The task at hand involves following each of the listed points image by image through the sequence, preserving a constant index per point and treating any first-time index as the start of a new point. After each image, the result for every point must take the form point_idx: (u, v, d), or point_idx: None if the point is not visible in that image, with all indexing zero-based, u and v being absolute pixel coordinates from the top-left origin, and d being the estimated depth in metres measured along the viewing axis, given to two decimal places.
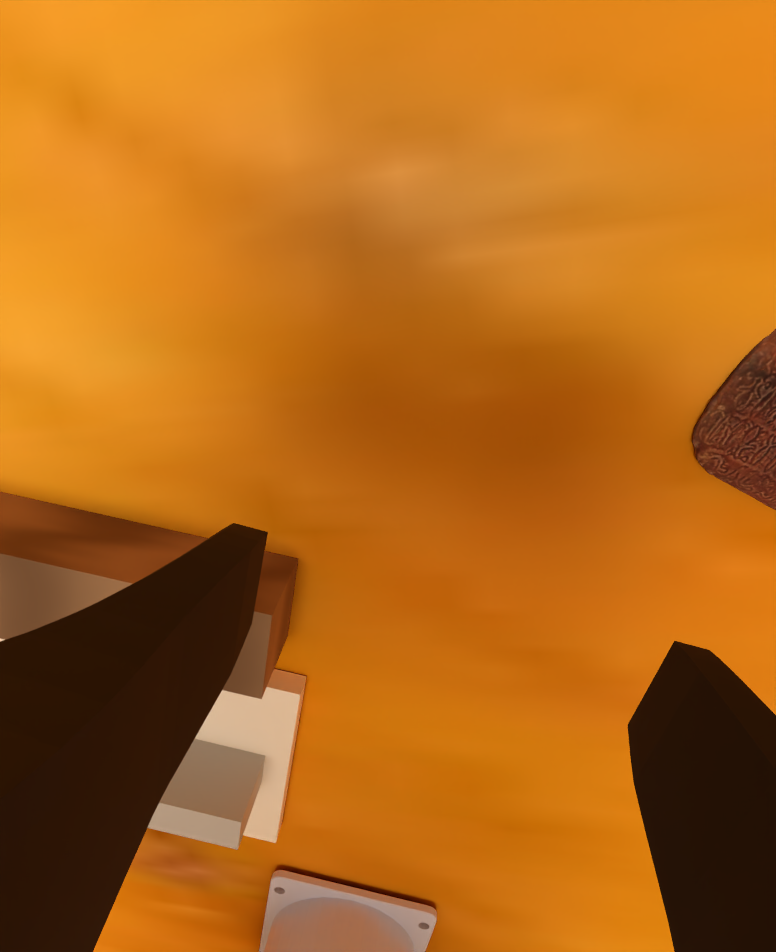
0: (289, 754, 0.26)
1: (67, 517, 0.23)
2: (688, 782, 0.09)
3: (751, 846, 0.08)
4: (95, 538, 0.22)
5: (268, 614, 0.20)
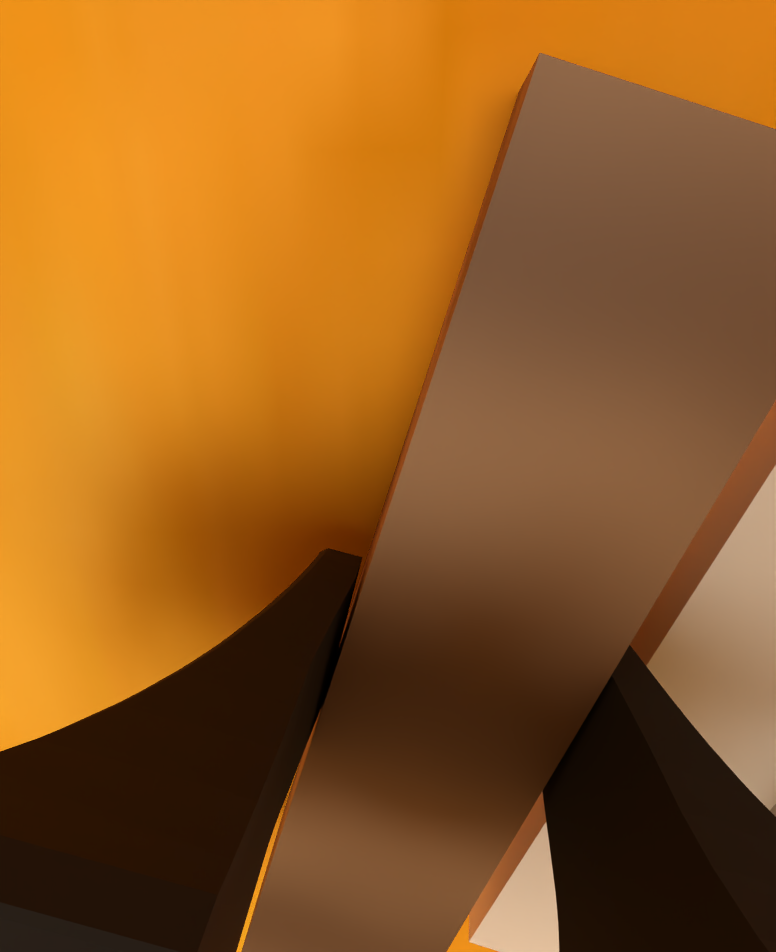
0: None
1: (358, 585, 0.12)
2: (579, 753, 0.09)
3: (620, 810, 0.08)
4: (373, 543, 0.11)
5: (536, 66, 0.06)
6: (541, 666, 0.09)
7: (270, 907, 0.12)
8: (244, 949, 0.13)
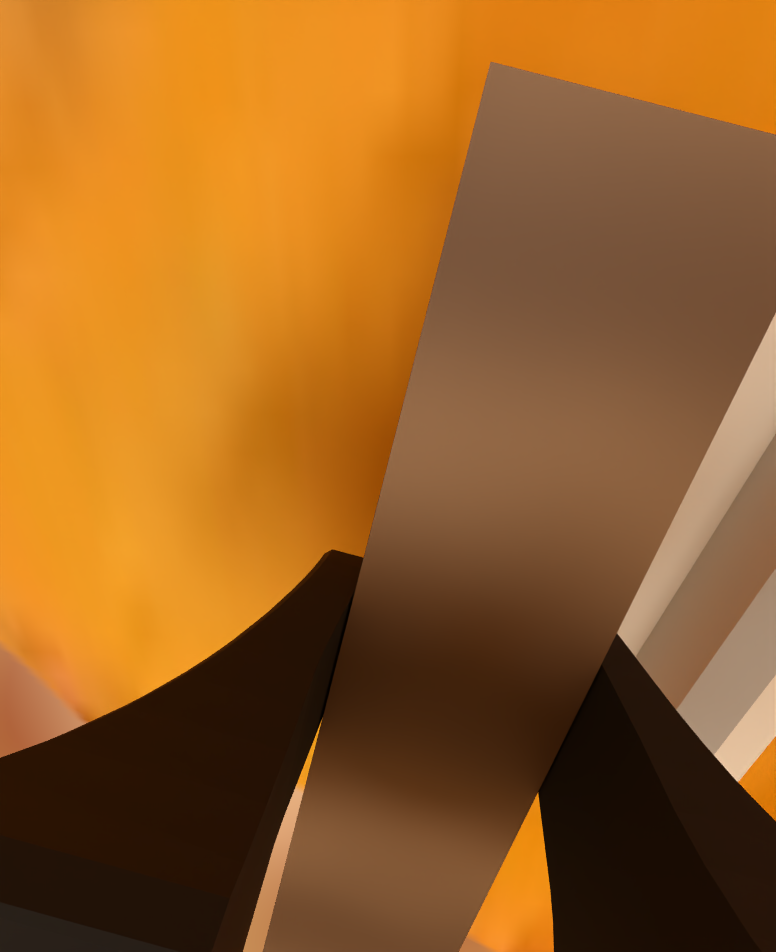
0: None
1: None
2: (574, 751, 0.09)
3: (614, 809, 0.08)
4: None
5: None
6: (536, 653, 0.09)
7: (288, 906, 0.12)
8: (265, 949, 0.13)
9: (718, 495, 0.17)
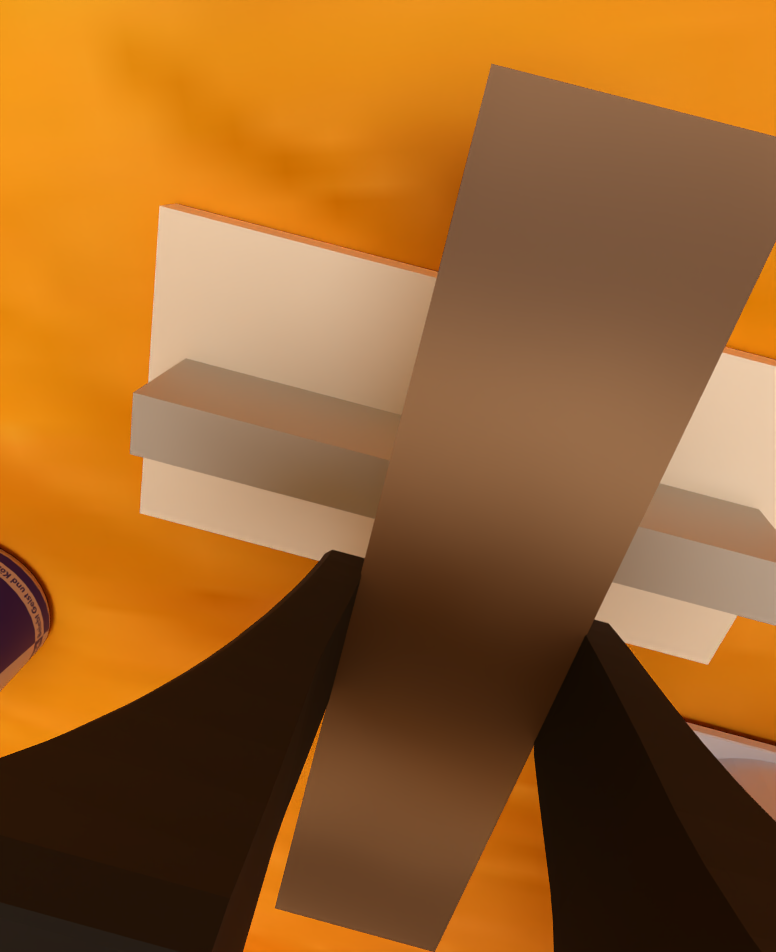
0: None
1: None
2: (573, 751, 0.09)
3: (614, 809, 0.08)
4: None
5: (489, 75, 0.07)
6: (532, 610, 0.10)
7: (301, 854, 0.13)
8: (279, 895, 0.14)
9: None
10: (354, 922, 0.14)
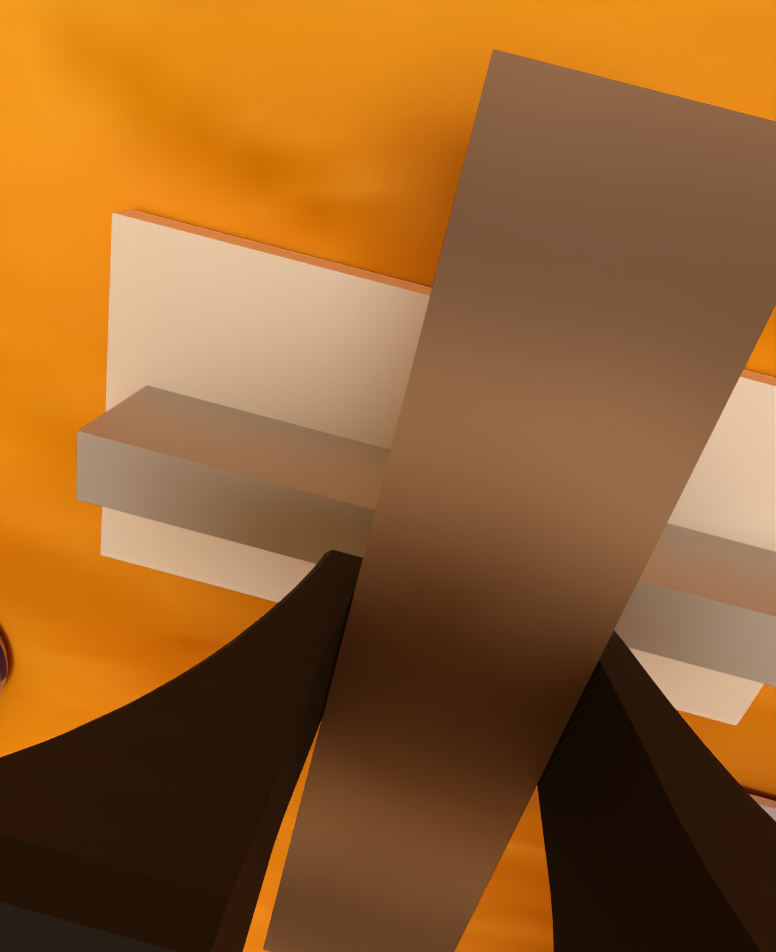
0: None
1: None
2: (574, 751, 0.09)
3: (614, 809, 0.08)
4: None
5: (490, 62, 0.06)
6: (537, 642, 0.09)
7: (291, 894, 0.12)
8: (268, 936, 0.13)
9: None
10: None
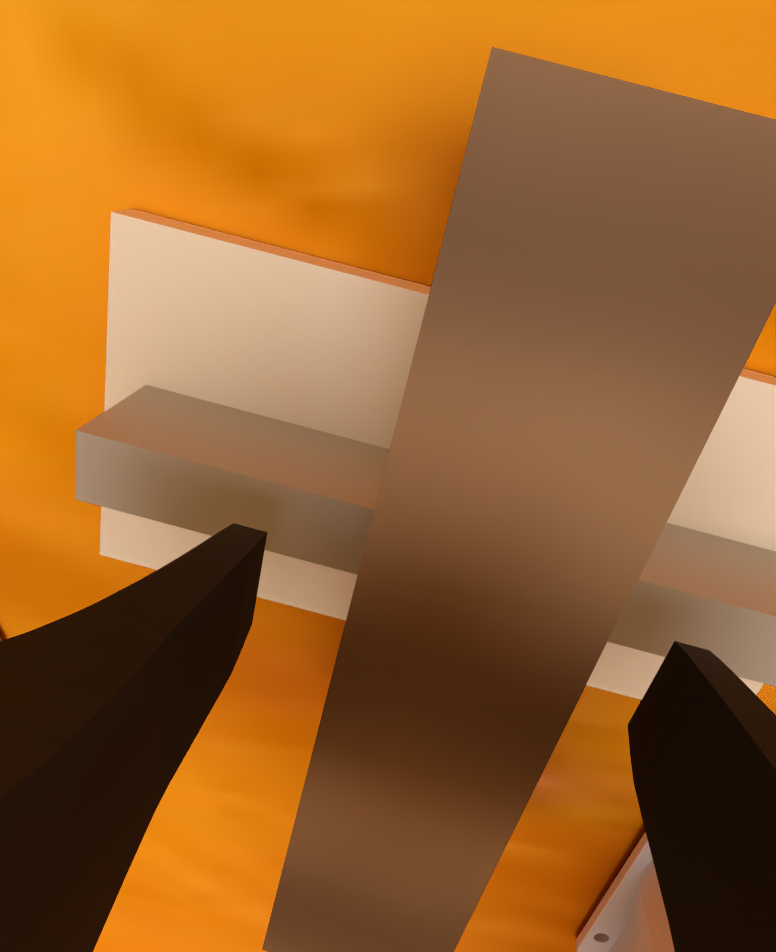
0: None
1: None
2: (689, 782, 0.09)
3: (751, 846, 0.08)
4: None
5: None
6: (536, 642, 0.09)
7: (289, 894, 0.12)
8: (267, 937, 0.13)
9: None
10: None
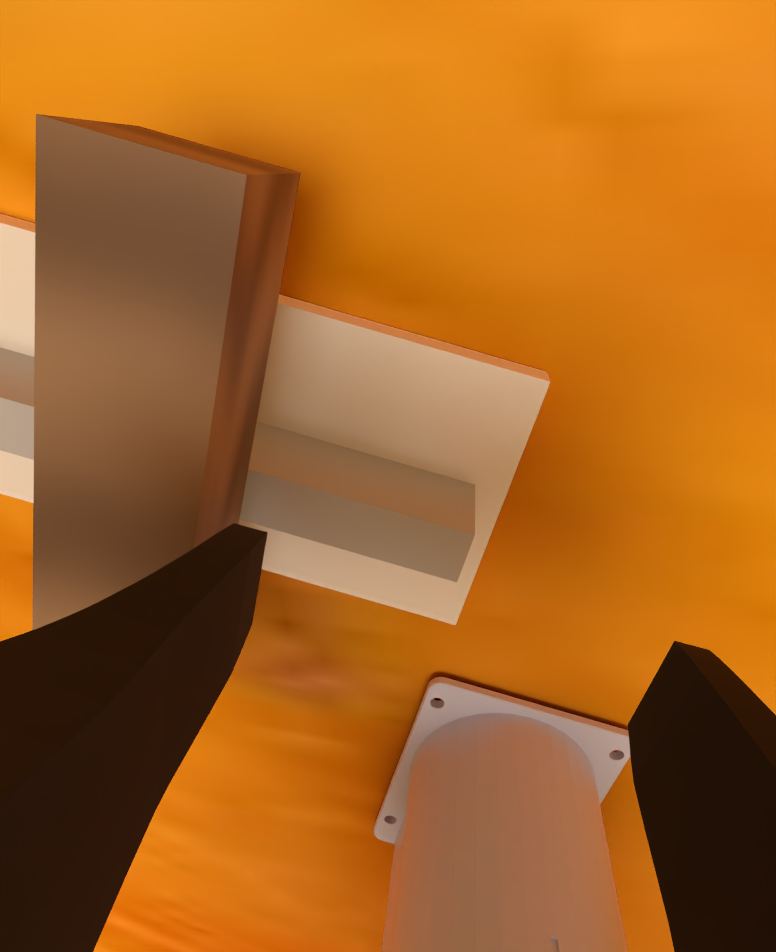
0: (509, 482, 0.20)
1: None
2: (689, 782, 0.09)
3: (751, 846, 0.08)
4: None
5: (36, 121, 0.11)
6: (156, 502, 0.14)
7: None
8: None
9: (268, 411, 0.20)
10: None
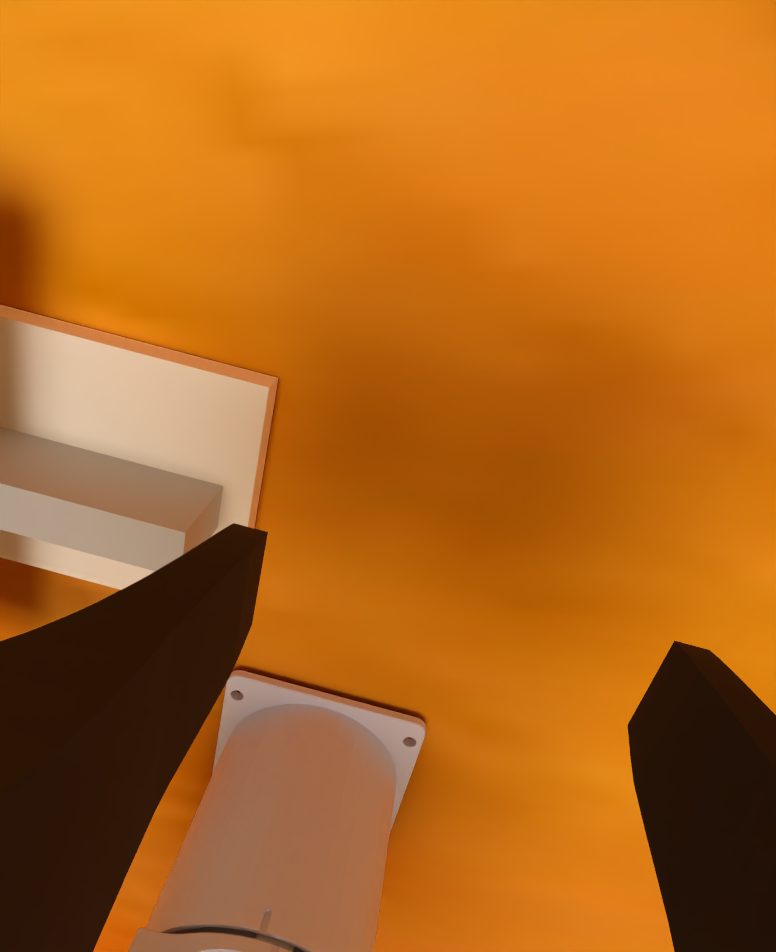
0: (253, 483, 0.21)
1: None
2: (689, 782, 0.09)
3: (751, 846, 0.08)
4: None
5: None
6: None
7: None
8: None
9: (24, 421, 0.21)
10: None
